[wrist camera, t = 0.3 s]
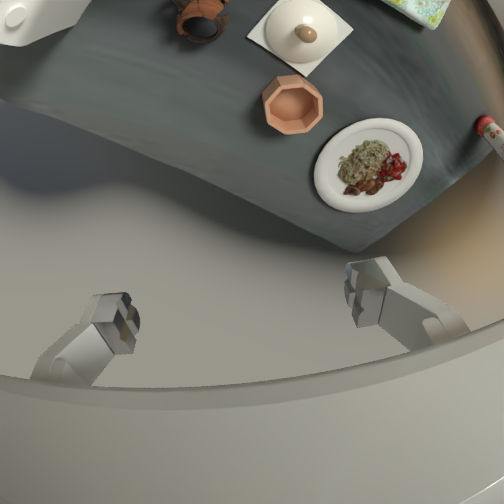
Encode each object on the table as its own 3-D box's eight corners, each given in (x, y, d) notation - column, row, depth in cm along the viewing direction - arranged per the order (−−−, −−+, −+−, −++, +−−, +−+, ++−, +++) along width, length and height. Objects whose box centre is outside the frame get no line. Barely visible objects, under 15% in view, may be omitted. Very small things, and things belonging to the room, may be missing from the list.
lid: (296, -14, 35) (303, -13, 32) (350, 29, 41) (359, 34, 38) (250, 35, 43) (252, 40, 40) (305, 73, 49) (312, 82, 46)
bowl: (286, 65, 48) (291, 73, 45) (326, 95, 54) (333, 106, 51) (251, 104, 55) (254, 115, 52) (292, 130, 60) (297, 142, 57)
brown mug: (244, 3, 38) (239, 29, 37) (208, 28, 44) (201, 55, 43) (191, -33, 29) (179, -10, 28) (158, -2, 36) (144, 24, 35)
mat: (295, -18, 34) (296, -18, 34) (352, 29, 42) (353, 29, 41) (246, 35, 43) (246, 36, 43) (305, 75, 50) (306, 76, 50)
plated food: (292, 145, 64) (295, 153, 62) (410, 98, 53) (417, 104, 51) (333, 221, 85) (336, 230, 83) (424, 184, 75) (429, 192, 73)
